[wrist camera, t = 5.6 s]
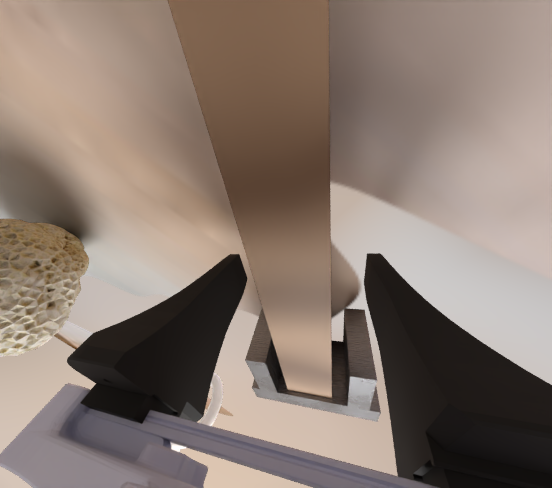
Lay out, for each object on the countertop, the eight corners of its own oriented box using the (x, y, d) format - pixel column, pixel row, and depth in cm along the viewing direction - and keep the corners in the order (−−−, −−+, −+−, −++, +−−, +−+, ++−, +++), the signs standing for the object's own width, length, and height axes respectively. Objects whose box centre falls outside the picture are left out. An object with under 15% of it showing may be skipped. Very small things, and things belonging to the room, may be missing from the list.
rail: (330, 337, 19) (331, 398, 15) (295, 333, 20) (287, 389, 16) (327, 3, 7) (327, -127, 3) (240, 32, 8) (155, -40, 4)
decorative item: (87, 184, 14) (-221, 285, 6) (153, 273, 19) (26, 395, 11) (-1, 203, 18) (-268, 283, 10) (73, 274, 22) (-67, 367, 14)
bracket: (374, 310, 15) (391, 382, 11) (366, 355, 19) (377, 421, 15) (255, 302, 18) (235, 358, 14) (270, 343, 22) (257, 396, 18)
